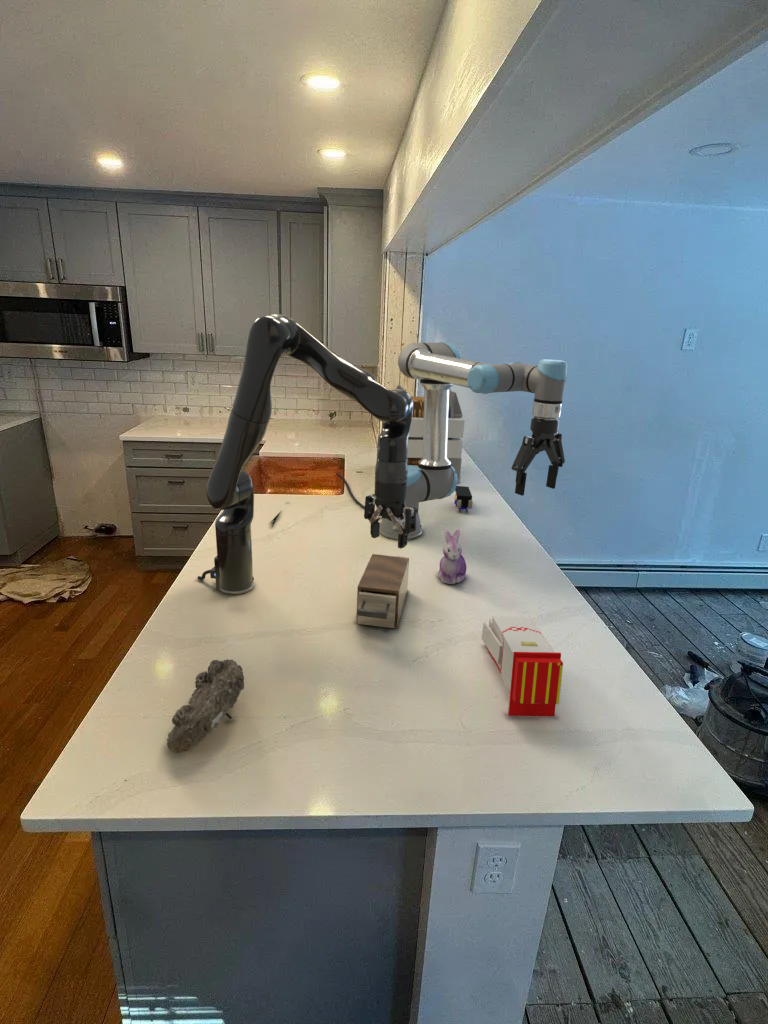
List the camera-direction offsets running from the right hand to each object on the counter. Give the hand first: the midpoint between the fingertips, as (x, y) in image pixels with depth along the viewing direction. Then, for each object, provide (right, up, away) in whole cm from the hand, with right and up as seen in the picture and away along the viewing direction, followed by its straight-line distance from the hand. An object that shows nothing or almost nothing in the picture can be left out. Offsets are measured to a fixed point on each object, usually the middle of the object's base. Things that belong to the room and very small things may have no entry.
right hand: (535, 490), depth 164 cm
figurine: (-24, -26, +5) cm, 35 cm away
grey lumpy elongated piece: (-76, -45, -56) cm, 105 cm away
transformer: (-26, +13, +111) cm, 115 cm away
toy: (-15, -42, -39) cm, 59 cm away
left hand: (-43, -13, -27) cm, 52 cm away
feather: (-83, -7, +49) cm, 96 cm away
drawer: (-45, -32, -18) cm, 58 cm away
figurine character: (-12, -5, +65) cm, 66 cm away
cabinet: (-44, -31, -13) cm, 55 cm away
